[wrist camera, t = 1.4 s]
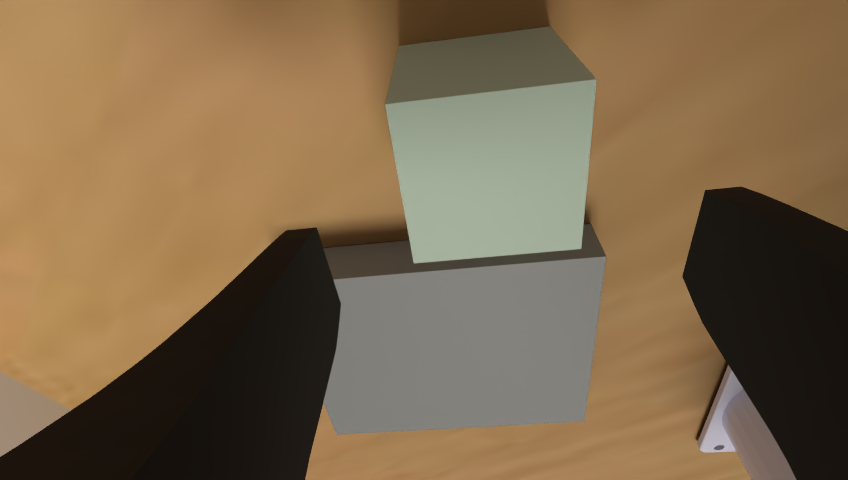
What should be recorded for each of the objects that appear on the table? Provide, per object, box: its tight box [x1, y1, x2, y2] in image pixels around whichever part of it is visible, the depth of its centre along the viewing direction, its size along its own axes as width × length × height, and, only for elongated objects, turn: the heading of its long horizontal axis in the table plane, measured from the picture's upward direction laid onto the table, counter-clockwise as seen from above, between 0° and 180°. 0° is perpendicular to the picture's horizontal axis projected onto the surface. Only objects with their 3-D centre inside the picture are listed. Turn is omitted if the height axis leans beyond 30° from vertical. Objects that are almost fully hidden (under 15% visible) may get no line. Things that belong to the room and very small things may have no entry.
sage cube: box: [385, 26, 597, 263], centre depth 13 cm, size 4×4×5 cm
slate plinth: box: [323, 224, 606, 435], centre depth 20 cm, size 12×10×2 cm
